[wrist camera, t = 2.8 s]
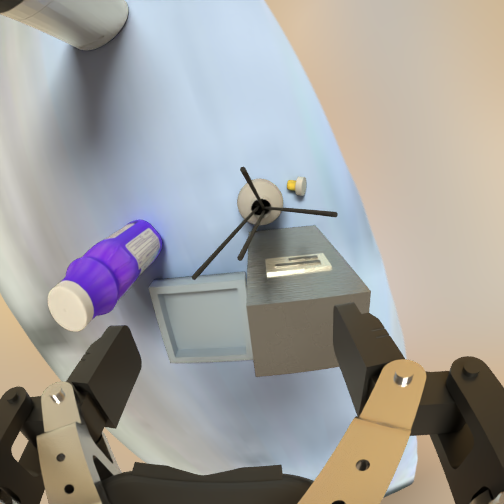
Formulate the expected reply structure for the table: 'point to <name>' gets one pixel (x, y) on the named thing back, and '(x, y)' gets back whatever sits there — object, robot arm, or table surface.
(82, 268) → the bottle
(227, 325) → the tray
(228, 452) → the table surface
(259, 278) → the grey slotted box
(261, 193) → the reed diffuser
